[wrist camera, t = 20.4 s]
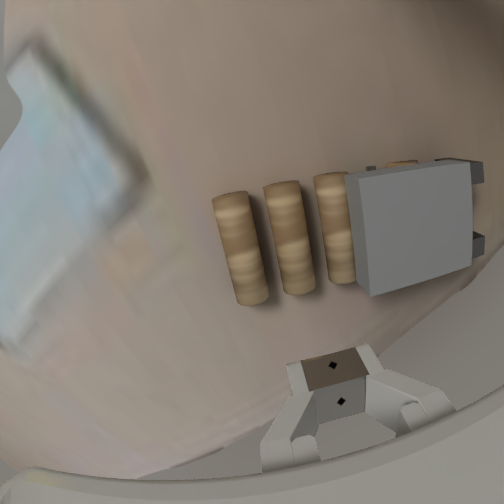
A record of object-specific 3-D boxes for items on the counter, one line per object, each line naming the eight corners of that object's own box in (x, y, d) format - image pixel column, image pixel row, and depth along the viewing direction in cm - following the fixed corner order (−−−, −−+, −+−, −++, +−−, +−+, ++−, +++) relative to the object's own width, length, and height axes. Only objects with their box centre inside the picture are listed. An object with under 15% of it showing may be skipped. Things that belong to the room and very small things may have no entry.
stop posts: (435, 159, 34) (468, 163, 27) (448, 157, 34) (482, 162, 27) (440, 242, 38) (470, 259, 31) (453, 238, 38) (484, 254, 31)
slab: (343, 175, 30) (358, 178, 27) (448, 159, 30) (469, 162, 26) (356, 281, 34) (370, 297, 30) (452, 254, 34) (471, 265, 30)
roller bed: (212, 196, 34) (210, 202, 31) (413, 159, 34) (429, 161, 30) (236, 293, 38) (237, 308, 35) (420, 250, 38) (435, 259, 34)
